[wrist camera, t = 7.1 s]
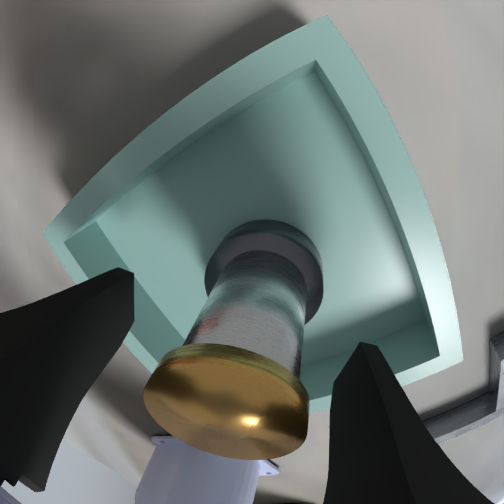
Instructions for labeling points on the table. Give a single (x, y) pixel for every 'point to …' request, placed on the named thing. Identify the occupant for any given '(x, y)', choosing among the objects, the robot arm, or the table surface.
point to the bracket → (474, 402)
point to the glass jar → (244, 348)
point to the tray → (275, 210)
